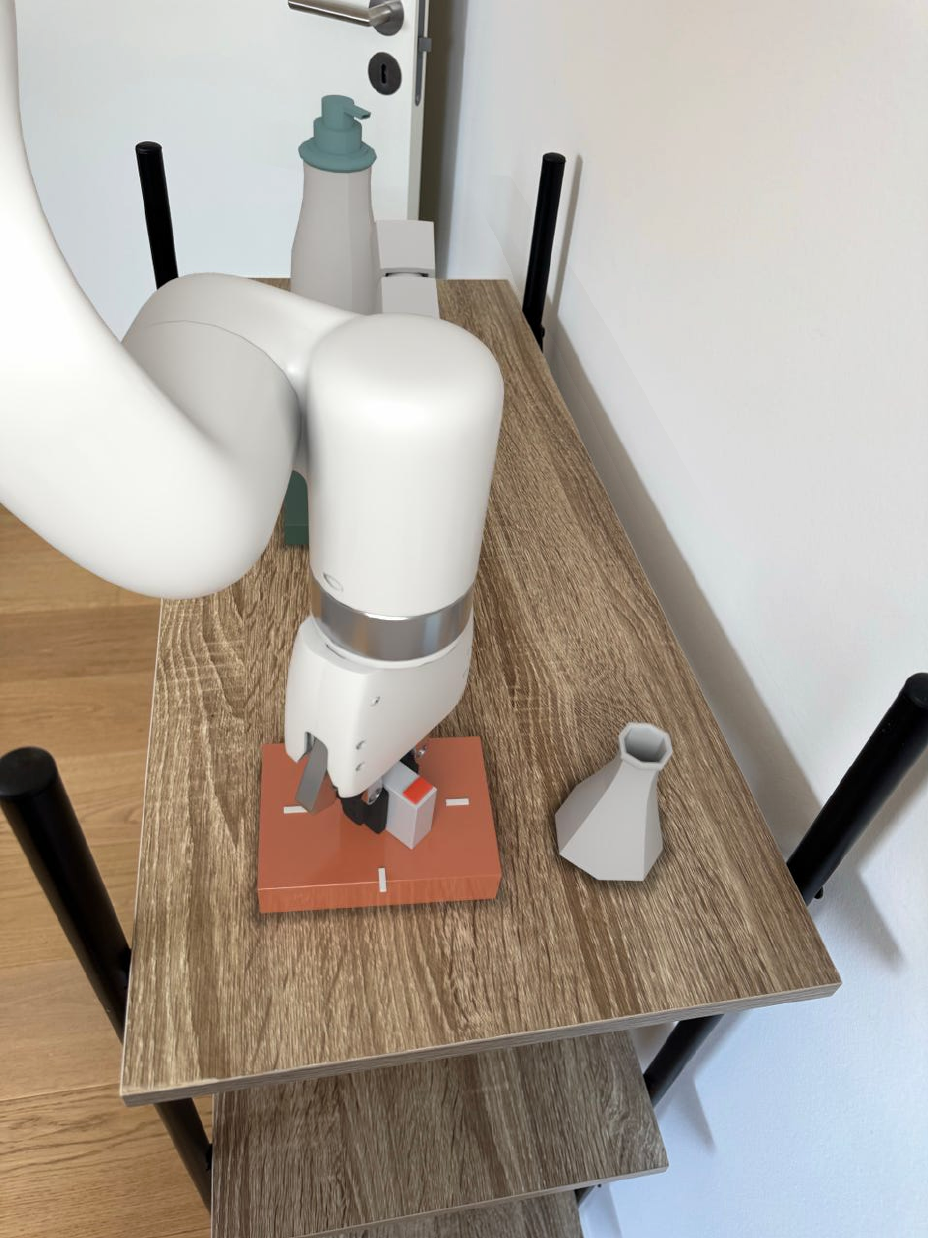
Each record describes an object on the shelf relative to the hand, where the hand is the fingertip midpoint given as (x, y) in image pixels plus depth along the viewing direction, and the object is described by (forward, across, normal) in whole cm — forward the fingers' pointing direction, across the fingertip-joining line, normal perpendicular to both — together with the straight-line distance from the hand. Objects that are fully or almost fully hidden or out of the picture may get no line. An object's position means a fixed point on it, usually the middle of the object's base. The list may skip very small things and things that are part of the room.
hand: (377, 802), depth 55 cm
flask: (+4, -10, +11) cm, 15 cm away
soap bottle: (+4, -43, -45) cm, 62 cm away
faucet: (+4, -36, -30) cm, 47 cm away
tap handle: (0, 0, 0) cm, 0 cm away
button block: (+3, -22, -23) cm, 32 cm away
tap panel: (+3, 0, 0) cm, 3 cm away
